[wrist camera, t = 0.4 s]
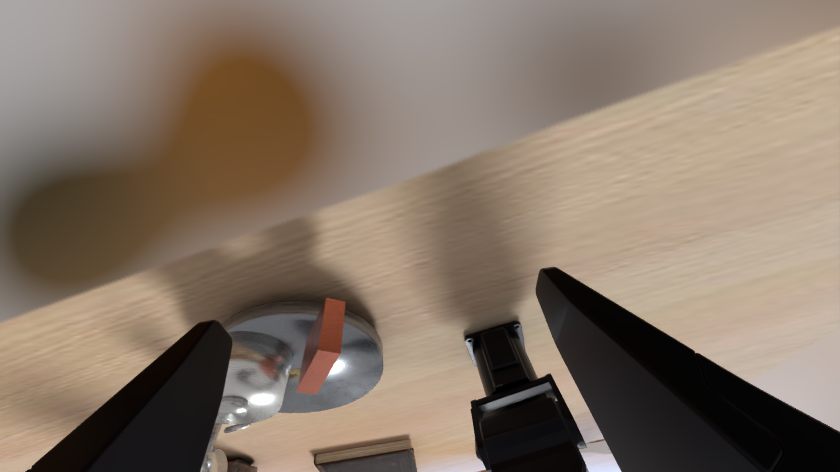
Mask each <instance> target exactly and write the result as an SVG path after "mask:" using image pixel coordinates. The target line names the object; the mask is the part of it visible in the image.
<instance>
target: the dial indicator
mask: <svg viewBox="0 0 840 472" xmlns="http://www.w3.org/2000/svg"><path fill="white" fill-rule="evenodd" d="M250 425H251V423H247V424H237V425H234V426H230V427H227V428H225V430H224V432H225V433H229V432H232V431H236V430H239V429H243V428H246V427H249V426H250ZM221 426H222V424H219V423H215V425H214V428H213V432H212V435H211V438H210V441H209V445H208V448H207V451H206V455H205V458H204V461H203V464H202V468H201V471H200V472H227V466H228V464H227V457H226V455H225V453H224V452H223V451H222V450H220V449H213V447H214V445H215V442H216V439H217V437H218V434H219V431H220V428H221Z"/></svg>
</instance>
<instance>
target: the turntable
mask: <svg viewBox="0 0 840 472" xmlns="http://www.w3.org/2000/svg"><path fill="white" fill-rule="evenodd" d="M345 303H346V302H344V301H340V300H335V299H331V298H326V300H325V302H324V304H323V303H317V302H308V301H281V302H273V303H267V304H262V305H258V306H255V307H251V308H249V309H246V310H244V311H241V312H239V313H237V314H236V315H234V316H232V317H231V318H229V319H228V320H227V321H225V322H224V323H223V324H222V326H223V327H224V328H225V330H226V331H227V332H234V331H253V332H259V333H264V334H267V335H270V336H273V337H275V338H277V339H279V340H281V341H282V342H284V343H285V344H286V345H287V346H288V347H289V348H290V350H291V351H292V355H293V359H292V364H291V368H290V372H289V376H288V381H287V385H286V389H285V394H284V398H283V402H282V406H281V408H280V410H279V411H278V412H281V413H306V412H316V411H323V410H328V409H332V408H336V407H340V406H343V405H346V404H348V403H351V402H353V401H355V400H357V399H359V398H361V397H362V396H364V395H365V394H367V393H368V392H369V391H371V390H372V389H373V388H374V387H375V386H376V384H377V383H378V382H379V380H380V378H381V376H382V372H383V348H382V342H381V339H380V337H379V335H378V333H377V332H376V330H375V329H374V328H373V327H372V326H371V325H370V324H369V323H368V322H367V321H365V320H364V319H362V318H361V317H359V316H358V315H356V314H354V313H352V312H350V311H347V310H345Z"/></svg>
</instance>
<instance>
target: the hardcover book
mask: <svg viewBox="0 0 840 472" xmlns="http://www.w3.org/2000/svg"><path fill="white" fill-rule="evenodd" d="M314 465H315V466H316V467H317V469H318V470H319V471H320V472H417V468H416V462H415V456H414V450H413V448H411V442H410V439H407V440H401V441H395V442H389V443H383V444H377V445H371V446H365V447H359V448H353V449H347V450H341V451H335V452H329V453H322V454H315V457H314Z"/></svg>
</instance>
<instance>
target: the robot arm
mask: <svg viewBox="0 0 840 472" xmlns="http://www.w3.org/2000/svg"><path fill="white" fill-rule="evenodd" d="M536 295H537V298H538V301H539V303H540V306H541V309H542V311H543V314H544V316H545V319H546V321H547V324H548V327H549V329H550V332H551V334H552V337H553V339H554V342H555V344H556V346H557V348H558V350H559V352H560V354H561V356H562V358H563V360H564V362H565V364H566V366H567V368H568V370H569V372H570V373H571V375H572V377H573V379H574V381H575V383H576V385H577V387H578V389H579V391H580V393H581V395H582V397H583V398H584V400H585V402H586V404H587V406H588V408H589V410H590V412H591V414H592V416H593V418H594V420H595V421H596V423H597V425H598V427H599V429H600V431H601V433H602V435H603V437H604V439H605V441H606V442H607V444H608V446H609V448H610V450H611V452H612V454H613V456H614V458H615V460H616V462H617V464H618V466H619V468H620V469H621V471H622V472H840V432H839V431H837V430H835V429H833V428H832V427H830V426H828V425H826V424H824V423H822V422H820V421H818V420H816V419H815V418H813V417H811V416H809V415H807V414H805V413H803V412H802V411H800V410H798V409H796V408H794V407H792V406H790V405H788V404H786V403H785V402H783V401H781V400H779V399H777V398H775V397H774V396H772V395H770V394H768V393H766V392H765V391H763V390H761V389H759V388H757V387H755V386H753V385H752V384H750V383H748V382H747V381H745V380H743V379H741V378H740V377H738V376H736V375H735V374H733V373H731V372H729V371H728V370H726V369H724V368H723V367H721V366H719V365H717V364H716V363H714V362H712V361H711V360H709V359H707V358H706V357H704V356H703V355H701V354H699V353H695V351H694V350H692V349H691V348H689V347H687V346H686V345H684V344H682V343H681V342H679V341H677V340H676V339H674V338H673V337H671V336H669V335H668V334H666V333H664V332H663V331H661V330H659V329H658V328H656V327H654V326H653V325H651V324H649V323H648V322H646V321H644V320H643V319H641V318H639V317H638V316H636V315H634V314H633V313H631V312H629V311H628V310H626V309H625V308H623V307H621V306H620V305H618V304H616V303H615V302H613V301H611V300H610V299H608V298H606V297H605V296H603V295H601V294H600V293H598V292H596V291H595V290H593V289H591V288H590V287H588V286H586V285H585V284H583V283H581V282H580V281H578V280H577V279H575V278H573V277H572V276H570V275H568V274H567V273H565V272H563V271H562V270H560V269H558V268H556V267H549V268H543V269H541V270H540V271H539V275H538V280H537V284H536ZM465 343H466V345H467V348H468V350H469V353H470V356H471V358H472V361H473V363H474V366H475V367H478V371H479V374H480V378H481V381H482V384H483V388H484V391H485V394H486V397H484V398H481V399H478V400H476V399H475V400H472V401H471V407H472V409H471V414H472V420H473V426H474V433H475V449H476V455H477V457H478V458H479V459H480V460H482V461H483V464H484V466H485V468H486V470H487V472H589V471H588V469H587V466H586V464H585V462H584V460H583V458H582V455H581V453H580V451H579V449H584V448H587V446H586V444H585V441H584V439H583V437H582V435H581V433H580V431H579V429H578V427H577V424H576V422H575V420H574V418H573V416H572V414H571V412H570V410H569V408H568V407H567V405H566V403H565V401H564V399H563V397H562V395H561V393H560V391H559V389H558V387H557V385H556V383H555V381H554V379H553V377H552V375H551V374H547V375H545V376H544V377H541V378H539V379H538V378H537V375H536V373H535V371H534V369H533V367H532V364H531V362H530V360H529V358H528V356H527V353H526V351H525V345H524V339H523V333H522V326H521V324H520V322H518V321H516V322H513V323H509V324H506V325H502V326H499V327H496V328H492V329H489V330H486V331H482V332H479V333H476V334H472V335H469V336H466V337H465ZM232 345H233V342H232V338H231V336H230V335H229V333H228V332H227V331H226V330H225V328H224V327H223V326H222V325H221V323H220V322H219V321H217V320H211V321H204V322H200V323H198V324H197V325H195V326H194V327H193V328H192V329H191V330H190V331H188V332H187V333H186V334H185V335H184V336H183V337H181V338H180V339H179V340H178V341H177V342H176V343H174V344H173V345H172V346H171V347H170V348H169V349H167V350H166V351H165V352H164V353H163V354H162V355H161V356H159V357H158V358H157V359H156V360H155V361H154V362H152V363H151V364H150V365H149V366H148V367H147V368H145V369H144V370H143V371H142V372H141V373H140V374H138V375H137V376H136V377H135V378H134V379H133V380H131V381H130V382H129V383H128V384H127V385H126V386H124V387H123V388H122V389H121V390H120V391H119V392H117V393H116V394H115V395H114V396H113V397H112V398H111V399H109V400H108V401H107V402H106V403H105V404H104V405H102V406H101V407H100V408H99V409H98V410H97V411H95V412H94V413H93V414H92V415H91V416H90V417H88V418H87V419H86V420H85V421H84V422H83V423H81V424H80V425H79V426H78V427H77V428H76V429H74V430H73V431H72V432H71V433H70V434H69V435H67V436H66V437H65V438H64V439H63V440H62V441H60V442H59V443H58V444H57V445H56V446H55V447H54V448H52V449H51V450H50V451H49V452H48V453H47V454H45V455H44V456H43V457H42V458H41V459H40V460H38V461H37V462H36V463H35V464H34V465H33V466H32V468H31V469H29V470H27V471H25V472H200V471H201V468H202V464H203V461H204V458H205V455H206V451H207V448H208V445H209V441H210V438H211V435H212V432H213V428H214V425H215V422H216V418H217V415H218V412H219V408H220V405H221V401H222V397H223V392H224V387H225V382H226V377H227V372H228V367H229V361H230V356H231V351H232ZM555 399H556V400H557V401H555Z"/></svg>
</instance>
